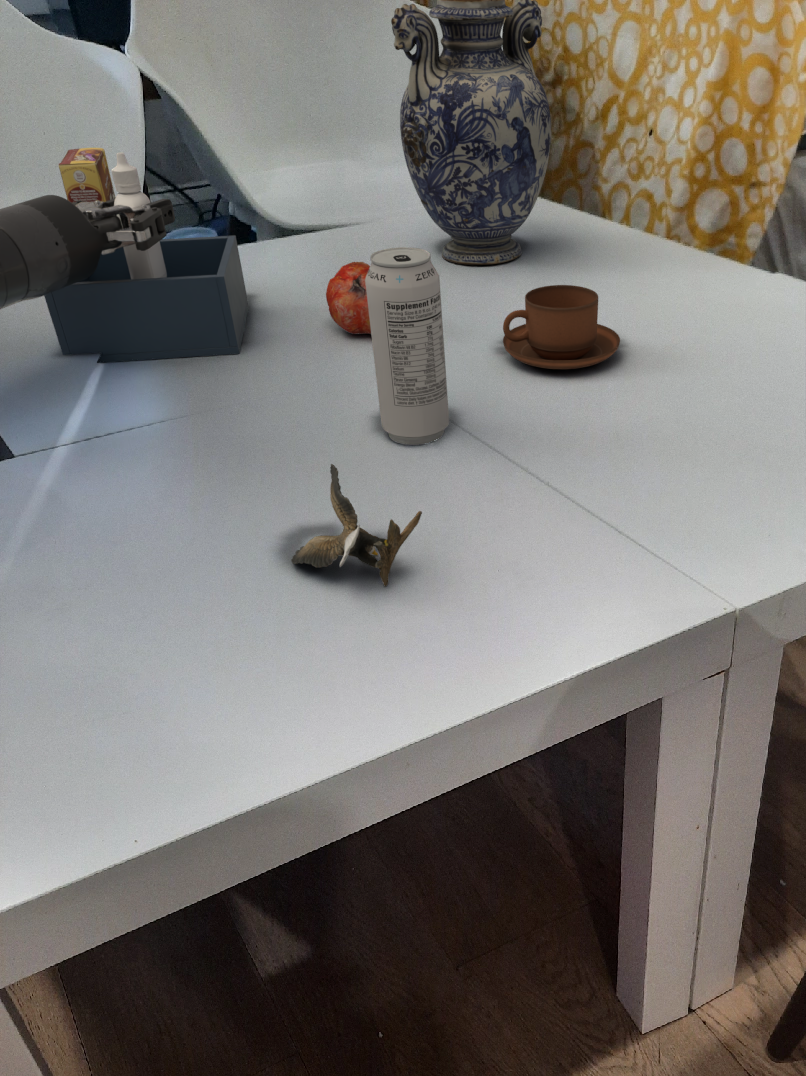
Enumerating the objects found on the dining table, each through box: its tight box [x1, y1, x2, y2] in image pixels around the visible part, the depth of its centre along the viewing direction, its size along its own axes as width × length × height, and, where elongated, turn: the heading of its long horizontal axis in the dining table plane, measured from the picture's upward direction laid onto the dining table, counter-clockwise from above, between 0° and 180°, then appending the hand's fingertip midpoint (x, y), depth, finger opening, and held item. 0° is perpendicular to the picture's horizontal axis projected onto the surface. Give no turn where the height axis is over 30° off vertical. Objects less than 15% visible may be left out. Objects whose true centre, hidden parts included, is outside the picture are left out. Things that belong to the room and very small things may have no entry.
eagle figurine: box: [290, 463, 423, 587], centre depth 71 cm, size 8×7×9 cm
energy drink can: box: [365, 246, 450, 446], centre depth 86 cm, size 6×6×15 cm
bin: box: [43, 234, 250, 364], centre depth 108 cm, size 18×16×8 cm
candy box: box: [58, 147, 116, 203], centre depth 116 cm, size 9×4×15 cm, turn 13°
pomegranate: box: [325, 261, 371, 335], centre depth 109 cm, size 7×7×10 cm
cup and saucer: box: [502, 284, 621, 370], centre depth 102 cm, size 12×12×6 cm
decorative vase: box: [390, 0, 552, 266], centre depth 124 cm, size 21×19×28 cm
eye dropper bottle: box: [111, 151, 167, 279], centre depth 103 cm, size 4×6×12 cm
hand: (150, 208), depth 105 cm, fingers closed on eye dropper bottle, 4 cm apart
